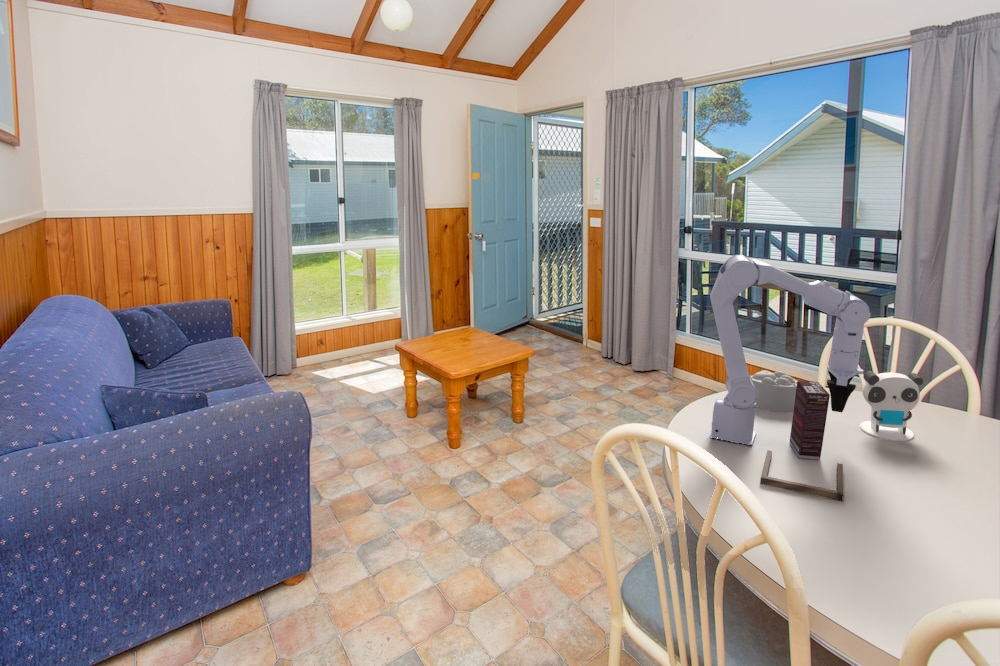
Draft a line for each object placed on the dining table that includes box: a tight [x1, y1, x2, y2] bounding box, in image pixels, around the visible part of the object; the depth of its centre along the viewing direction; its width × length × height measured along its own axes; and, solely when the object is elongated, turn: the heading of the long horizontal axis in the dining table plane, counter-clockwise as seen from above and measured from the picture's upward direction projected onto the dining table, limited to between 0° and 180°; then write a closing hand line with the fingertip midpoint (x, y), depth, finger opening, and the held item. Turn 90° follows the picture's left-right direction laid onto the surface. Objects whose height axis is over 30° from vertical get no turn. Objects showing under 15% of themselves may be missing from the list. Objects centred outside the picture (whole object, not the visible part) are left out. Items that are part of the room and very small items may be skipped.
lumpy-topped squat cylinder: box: [750, 369, 798, 413], centre depth 165 cm, size 10×13×9 cm
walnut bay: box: [759, 449, 844, 502], centre depth 126 cm, size 15×14×2 cm
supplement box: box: [788, 380, 831, 461], centre depth 136 cm, size 9×5×16 cm, turn 168°
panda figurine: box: [859, 370, 924, 442], centre depth 146 cm, size 12×11×15 cm
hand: (837, 405), depth 138 cm, fingers open, 7 cm apart
